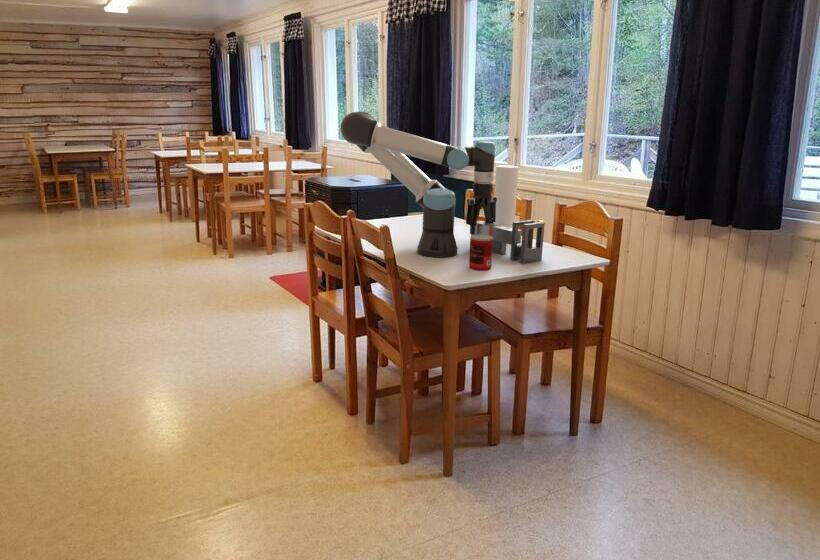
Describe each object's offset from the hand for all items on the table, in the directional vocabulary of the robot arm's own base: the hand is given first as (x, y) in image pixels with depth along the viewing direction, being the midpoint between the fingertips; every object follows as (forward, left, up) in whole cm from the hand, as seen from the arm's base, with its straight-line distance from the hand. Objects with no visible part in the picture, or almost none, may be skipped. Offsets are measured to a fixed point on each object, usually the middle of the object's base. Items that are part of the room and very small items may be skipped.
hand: (479, 241), depth 244 cm
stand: (0, -8, -2) cm, 8 cm away
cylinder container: (+26, +14, -3) cm, 30 cm away
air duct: (0, -9, +3) cm, 9 cm away
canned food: (-22, -25, -3) cm, 33 cm away
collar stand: (+1, -25, -2) cm, 25 cm away
